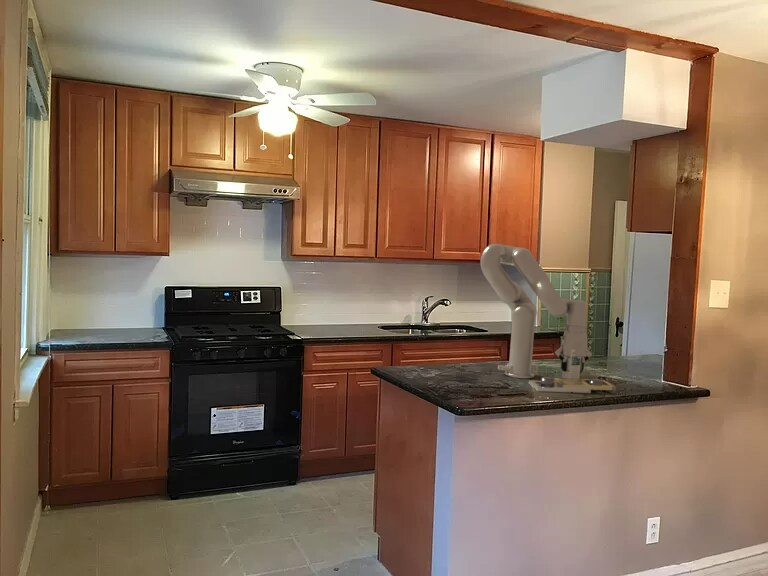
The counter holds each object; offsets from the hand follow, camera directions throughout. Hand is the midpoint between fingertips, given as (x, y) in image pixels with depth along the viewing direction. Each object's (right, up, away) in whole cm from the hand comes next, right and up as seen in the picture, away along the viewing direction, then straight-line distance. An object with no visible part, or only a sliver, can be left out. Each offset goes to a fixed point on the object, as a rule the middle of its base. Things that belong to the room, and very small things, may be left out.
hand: (572, 370), depth 261 cm
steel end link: (-9, -5, -13) cm, 17 cm away
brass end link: (+1, -6, -13) cm, 14 cm away
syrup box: (0, -5, 0) cm, 5 cm away
